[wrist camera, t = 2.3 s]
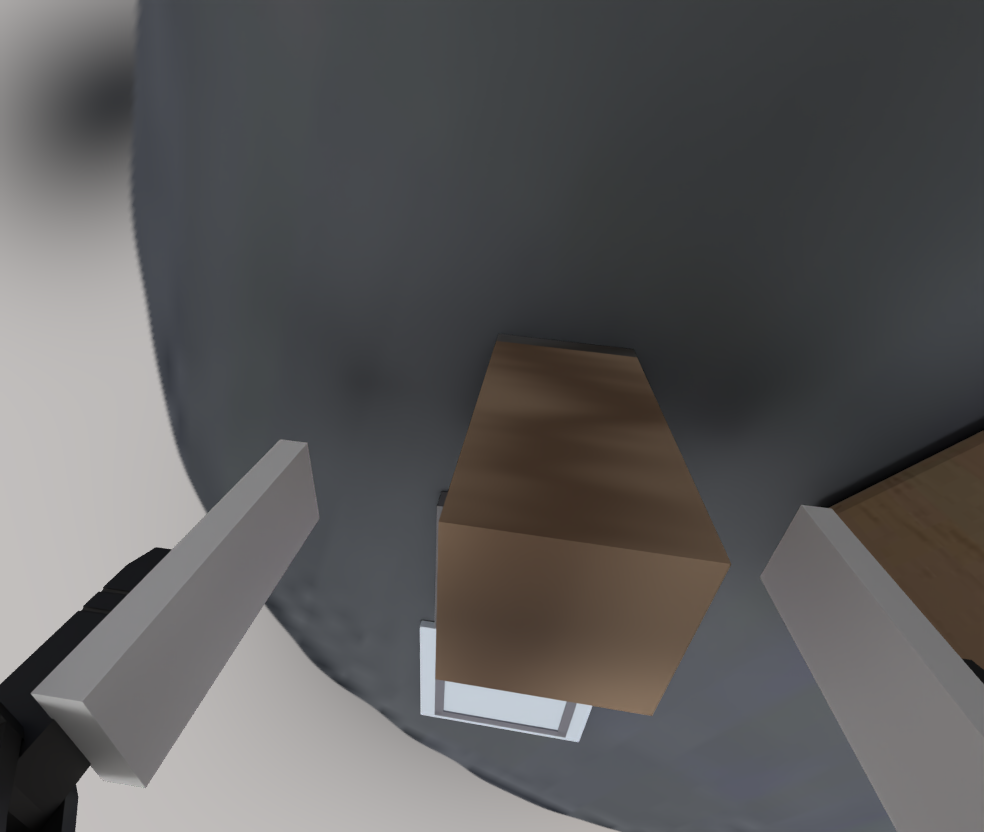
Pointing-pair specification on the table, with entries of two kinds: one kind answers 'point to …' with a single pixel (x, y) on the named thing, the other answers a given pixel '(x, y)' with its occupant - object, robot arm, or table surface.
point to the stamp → (571, 534)
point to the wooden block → (932, 539)
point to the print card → (494, 702)
